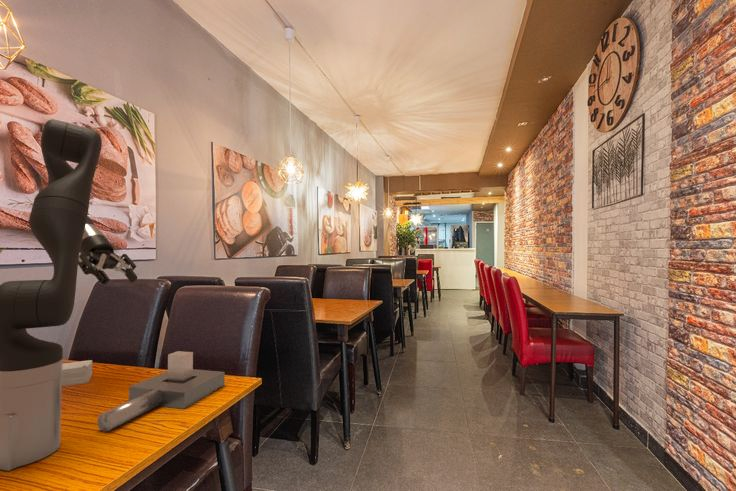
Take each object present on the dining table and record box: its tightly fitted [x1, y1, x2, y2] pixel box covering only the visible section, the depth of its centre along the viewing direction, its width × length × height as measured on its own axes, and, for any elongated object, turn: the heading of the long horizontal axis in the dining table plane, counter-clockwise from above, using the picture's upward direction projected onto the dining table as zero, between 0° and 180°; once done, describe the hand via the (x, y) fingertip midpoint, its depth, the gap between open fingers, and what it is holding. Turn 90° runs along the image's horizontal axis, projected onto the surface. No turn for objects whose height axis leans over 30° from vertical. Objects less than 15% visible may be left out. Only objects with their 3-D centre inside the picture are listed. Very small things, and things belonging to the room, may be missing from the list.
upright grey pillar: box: [167, 350, 194, 384], centre depth 94 cm, size 4×5×11 cm
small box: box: [62, 359, 93, 387], centre depth 103 cm, size 8×8×5 cm
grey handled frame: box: [97, 368, 226, 433], centre depth 87 cm, size 29×17×4 cm, turn 167°
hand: (121, 281), depth 98 cm, fingers open, 8 cm apart
